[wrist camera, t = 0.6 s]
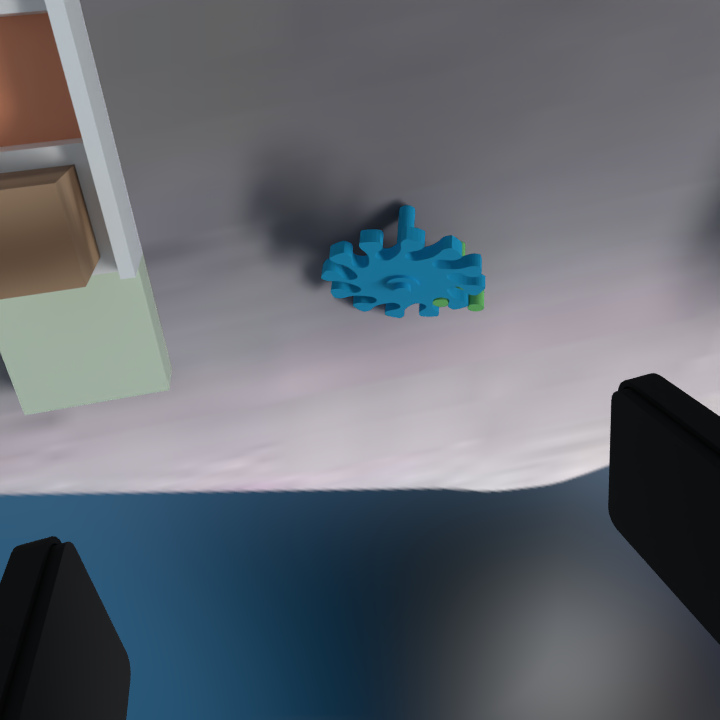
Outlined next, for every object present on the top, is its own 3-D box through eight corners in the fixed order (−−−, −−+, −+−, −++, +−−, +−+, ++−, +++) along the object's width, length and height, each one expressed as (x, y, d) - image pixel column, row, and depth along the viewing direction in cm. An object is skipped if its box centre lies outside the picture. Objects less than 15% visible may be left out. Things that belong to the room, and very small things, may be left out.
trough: (-145, -97, 29) (-199, -118, 25) (52, -109, 30) (29, -131, 27) (36, 391, 41) (18, 428, 37) (171, 368, 43) (168, 401, 39)
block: (-29, 176, 32) (-65, 197, 28) (74, 164, 33) (54, 183, 29) (5, 269, 35) (-24, 302, 30) (100, 256, 35) (85, 286, 31)
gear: (291, 294, 40) (382, 227, 32) (301, 214, 42) (390, 133, 34) (427, 342, 46) (534, 295, 38) (431, 269, 48) (532, 210, 40)
